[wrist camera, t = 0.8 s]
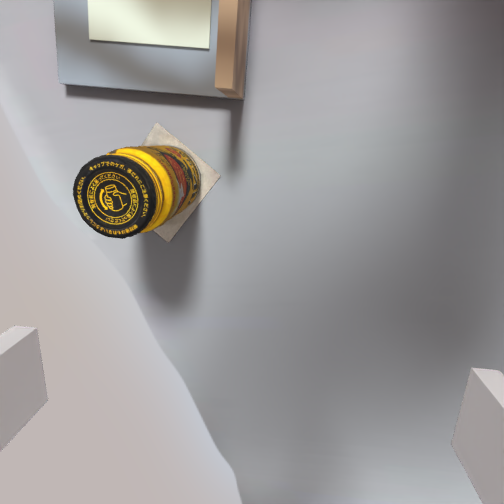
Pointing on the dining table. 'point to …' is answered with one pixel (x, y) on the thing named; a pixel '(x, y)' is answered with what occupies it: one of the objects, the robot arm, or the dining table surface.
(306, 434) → the dining table surface
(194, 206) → the condiment
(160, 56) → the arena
